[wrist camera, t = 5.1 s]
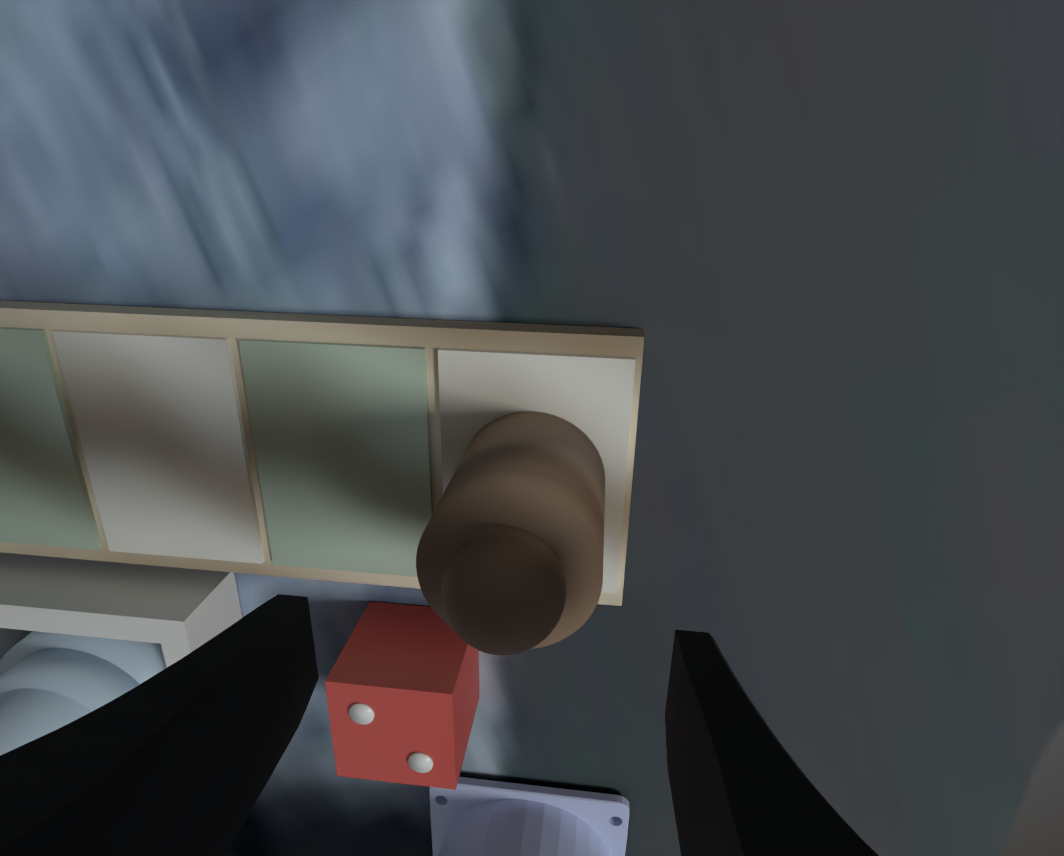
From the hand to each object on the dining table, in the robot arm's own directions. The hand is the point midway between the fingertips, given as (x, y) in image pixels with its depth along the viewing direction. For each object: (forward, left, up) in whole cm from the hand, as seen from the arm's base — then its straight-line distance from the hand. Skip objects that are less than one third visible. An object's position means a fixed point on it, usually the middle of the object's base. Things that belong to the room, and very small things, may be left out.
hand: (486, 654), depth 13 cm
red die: (-8, +4, -9) cm, 13 cm away
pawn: (0, 0, -8) cm, 8 cm away
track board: (0, +9, -9) cm, 13 cm away
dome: (-10, +16, -8) cm, 21 cm away
